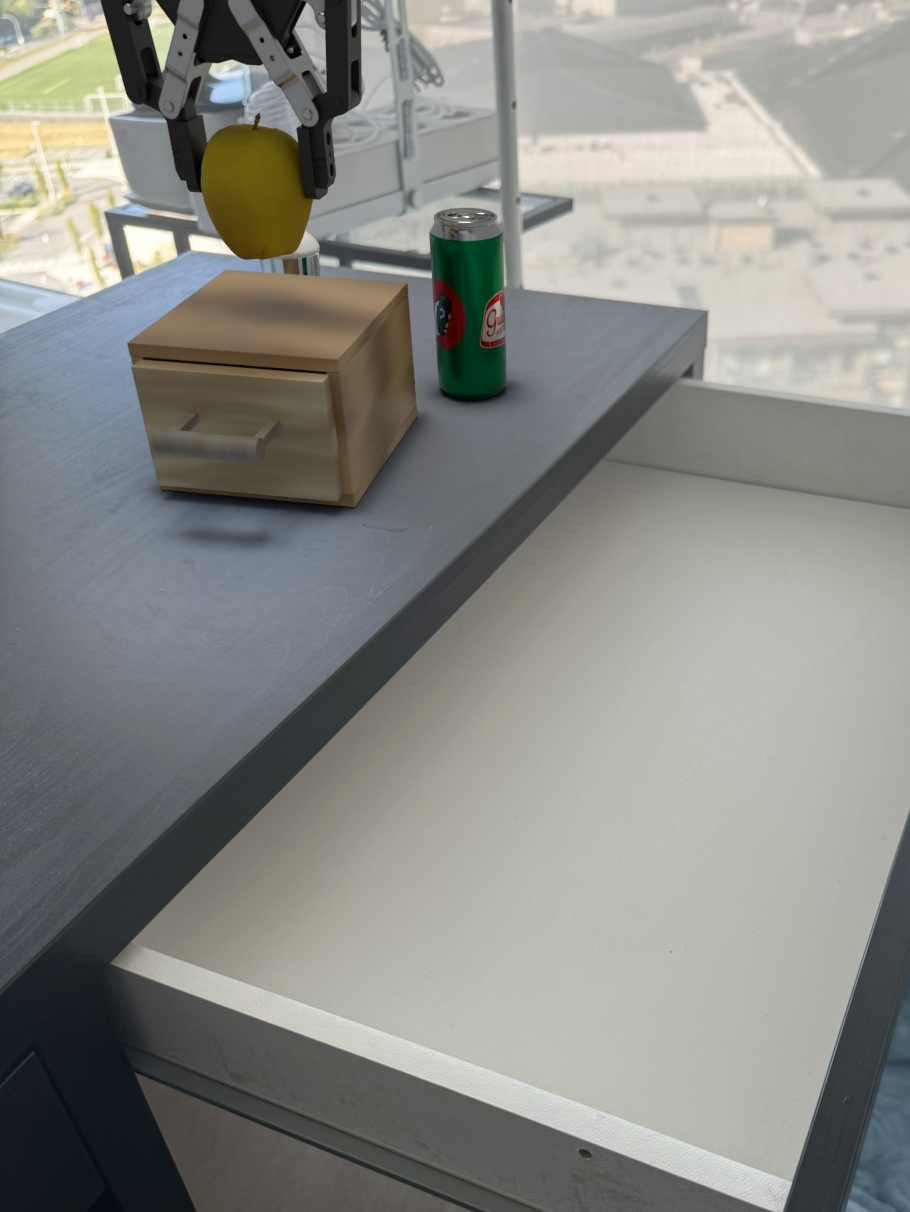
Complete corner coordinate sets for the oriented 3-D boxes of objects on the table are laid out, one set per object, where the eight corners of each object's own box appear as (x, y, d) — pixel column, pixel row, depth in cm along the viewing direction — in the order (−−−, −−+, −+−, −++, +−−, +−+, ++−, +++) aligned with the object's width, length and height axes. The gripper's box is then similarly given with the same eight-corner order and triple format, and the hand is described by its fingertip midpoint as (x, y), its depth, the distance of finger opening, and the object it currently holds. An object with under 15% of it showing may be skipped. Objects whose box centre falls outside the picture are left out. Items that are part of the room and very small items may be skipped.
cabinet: (354, 507, 72) (337, 359, 66) (160, 489, 73) (126, 342, 67) (417, 416, 83) (407, 282, 77) (247, 401, 84) (225, 269, 78)
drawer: (313, 534, 67) (296, 411, 62) (126, 517, 68) (94, 394, 63) (399, 415, 80) (390, 306, 76) (241, 402, 82) (222, 294, 77)
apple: (296, 280, 67) (276, 123, 62) (194, 270, 68) (166, 115, 63) (338, 249, 72) (322, 102, 67) (242, 241, 73) (219, 95, 68)
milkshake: (277, 342, 93) (257, 207, 87) (340, 349, 93) (325, 213, 86) (253, 362, 90) (231, 223, 84) (319, 369, 89) (301, 228, 83)
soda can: (498, 405, 85) (493, 227, 77) (430, 399, 85) (419, 222, 78) (513, 380, 88) (510, 208, 81) (449, 374, 89) (439, 203, 81)
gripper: (368, -175, 59) (396, 185, 70) (102, -183, 61) (168, 171, 71) (320, -175, 54) (358, 217, 64) (27, -183, 55) (112, 201, 66)
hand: (258, 192), depth 68 cm, fingers closed on apple, 6 cm apart
